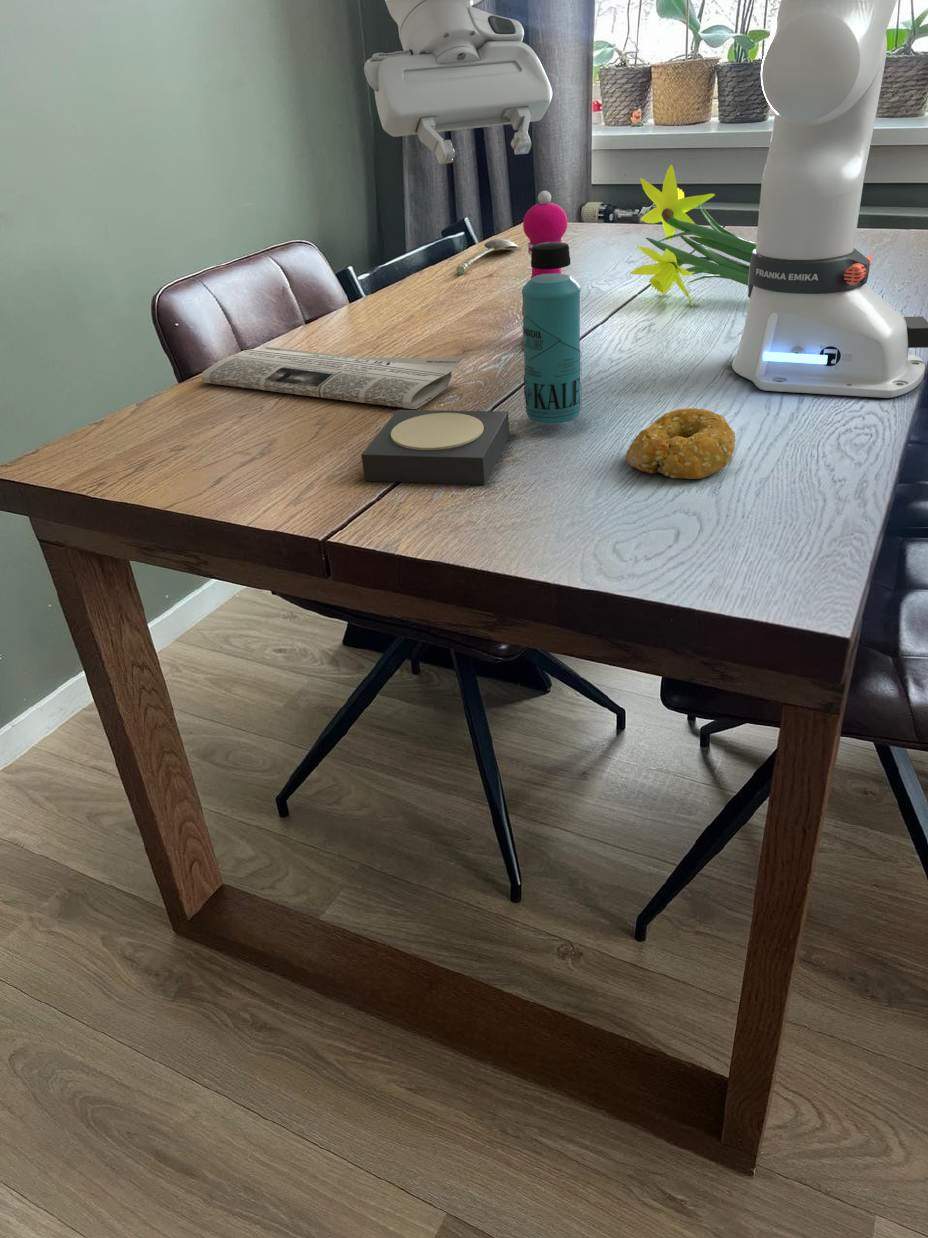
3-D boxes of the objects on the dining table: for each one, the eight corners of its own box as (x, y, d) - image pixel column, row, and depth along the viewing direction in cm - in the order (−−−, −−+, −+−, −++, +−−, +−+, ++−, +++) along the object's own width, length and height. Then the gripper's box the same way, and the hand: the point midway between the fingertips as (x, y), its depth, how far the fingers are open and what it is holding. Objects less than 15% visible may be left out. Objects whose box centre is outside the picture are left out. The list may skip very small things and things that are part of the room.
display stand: (509, 436, 107) (508, 408, 106) (484, 485, 97) (482, 455, 95) (400, 434, 110) (397, 406, 109) (364, 480, 100) (360, 451, 98)
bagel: (616, 450, 102) (617, 407, 99) (717, 440, 102) (721, 397, 99) (637, 488, 93) (638, 443, 91) (747, 478, 94) (751, 432, 91)
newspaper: (203, 385, 131) (197, 360, 129) (260, 358, 140) (255, 334, 138) (421, 413, 116) (418, 385, 114) (469, 380, 124) (467, 354, 123)
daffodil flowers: (810, 334, 133) (588, 255, 143) (809, 359, 147) (607, 285, 157) (866, 218, 130) (636, 145, 141) (860, 254, 144) (652, 186, 155)
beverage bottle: (546, 412, 113) (541, 234, 102) (593, 422, 109) (593, 238, 98) (513, 430, 109) (505, 247, 98) (561, 441, 105) (558, 252, 94)
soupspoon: (523, 252, 190) (494, 253, 193) (522, 234, 189) (493, 235, 192) (475, 274, 174) (444, 275, 177) (473, 255, 172) (442, 255, 175)
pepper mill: (570, 347, 133) (568, 194, 123) (519, 348, 135) (513, 196, 124) (575, 332, 139) (574, 184, 129) (527, 333, 141) (521, 187, 130)
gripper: (363, 32, 100) (406, 144, 98) (533, 20, 107) (575, 125, 105) (353, 77, 106) (393, 185, 104) (515, 63, 113) (555, 164, 111)
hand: (486, 155), depth 105 cm, fingers open, 8 cm apart
